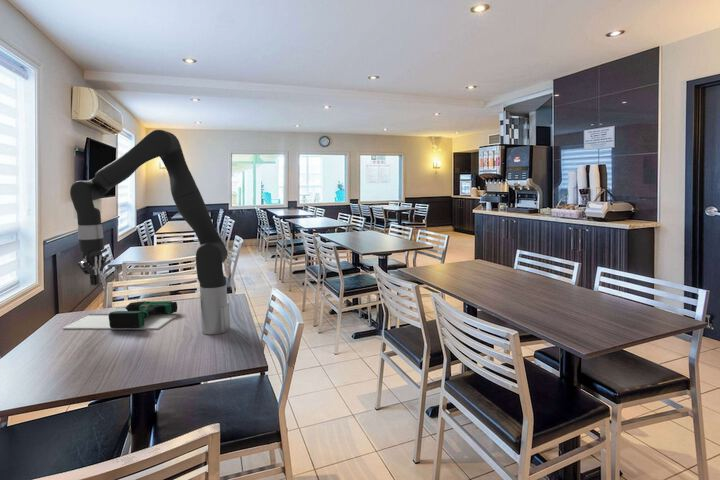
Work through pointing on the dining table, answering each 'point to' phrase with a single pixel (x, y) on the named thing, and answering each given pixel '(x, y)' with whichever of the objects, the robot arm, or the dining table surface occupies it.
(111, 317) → the power drill
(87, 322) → the mat
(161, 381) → the dining table surface
